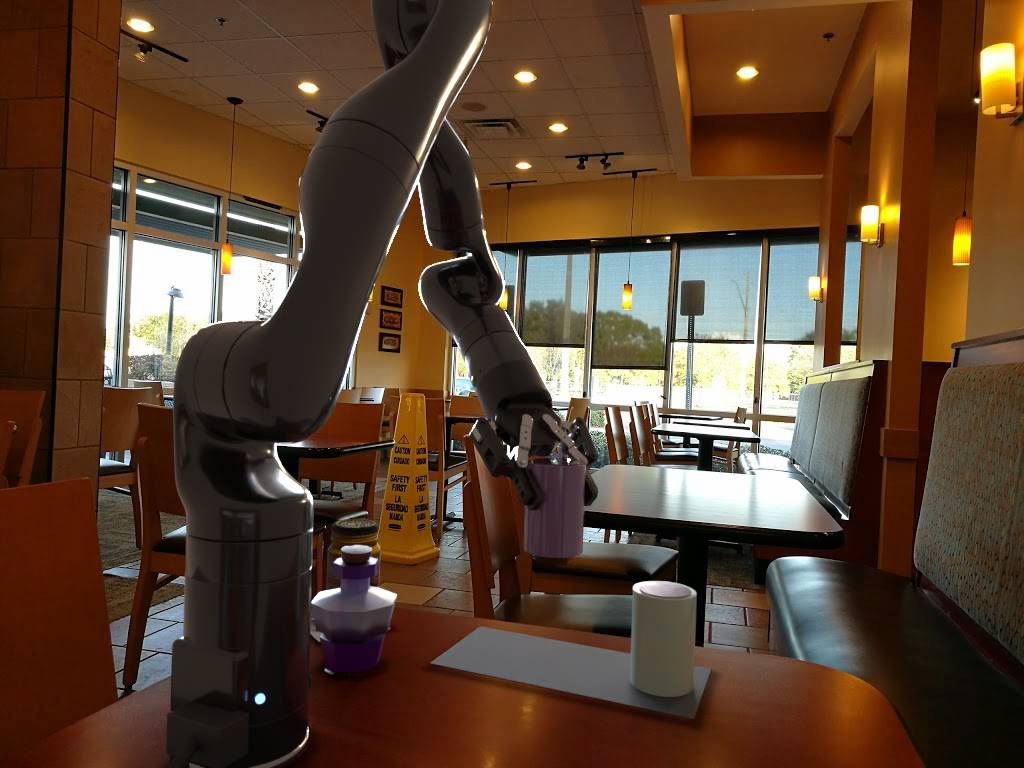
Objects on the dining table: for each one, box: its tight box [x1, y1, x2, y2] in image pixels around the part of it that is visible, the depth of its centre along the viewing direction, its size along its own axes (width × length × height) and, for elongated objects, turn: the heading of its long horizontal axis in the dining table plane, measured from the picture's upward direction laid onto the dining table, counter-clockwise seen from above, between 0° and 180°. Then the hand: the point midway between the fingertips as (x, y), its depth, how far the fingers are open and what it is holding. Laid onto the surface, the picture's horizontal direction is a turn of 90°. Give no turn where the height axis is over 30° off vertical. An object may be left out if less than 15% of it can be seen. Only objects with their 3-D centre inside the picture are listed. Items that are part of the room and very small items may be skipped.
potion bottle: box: [311, 545, 398, 676], centre depth 73 cm, size 9×9×12 cm
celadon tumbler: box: [629, 580, 698, 697], centre depth 70 cm, size 6×6×9 cm
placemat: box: [429, 625, 713, 720], centre depth 73 cm, size 12×26×1 cm, turn 67°
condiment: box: [310, 518, 392, 643], centre depth 84 cm, size 7×8×12 cm
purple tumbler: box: [523, 457, 586, 559], centre depth 74 cm, size 6×6×9 cm
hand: (564, 503), depth 72 cm, fingers closed on purple tumbler, 6 cm apart
